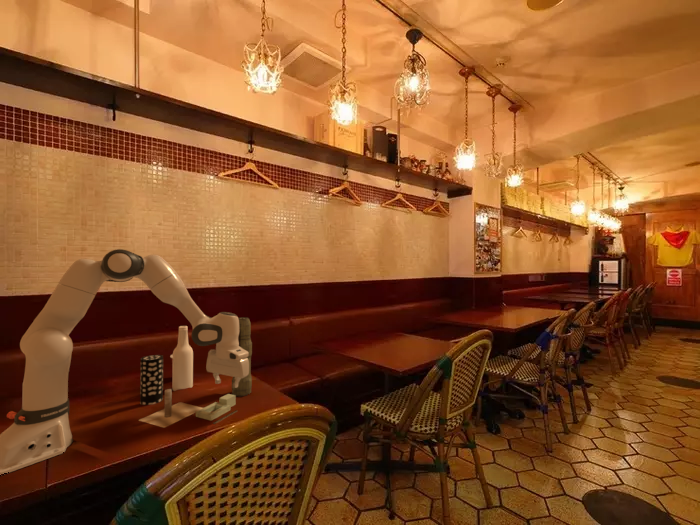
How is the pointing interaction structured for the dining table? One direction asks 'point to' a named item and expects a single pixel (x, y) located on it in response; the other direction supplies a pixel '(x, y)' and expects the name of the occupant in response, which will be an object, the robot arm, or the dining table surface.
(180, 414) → the post stand
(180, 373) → the alcohol
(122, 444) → the dining table surface
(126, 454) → the dining table surface
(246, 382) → the stone moai statue
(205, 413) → the link
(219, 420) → the mat
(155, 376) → the white-spotted black cylinder
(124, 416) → the dining table surface
